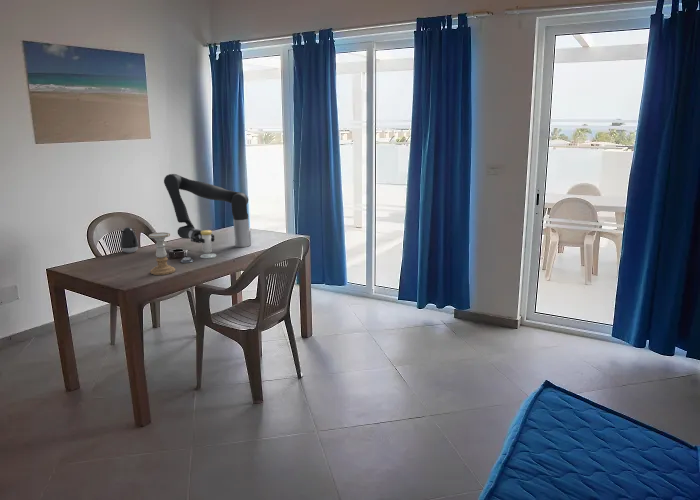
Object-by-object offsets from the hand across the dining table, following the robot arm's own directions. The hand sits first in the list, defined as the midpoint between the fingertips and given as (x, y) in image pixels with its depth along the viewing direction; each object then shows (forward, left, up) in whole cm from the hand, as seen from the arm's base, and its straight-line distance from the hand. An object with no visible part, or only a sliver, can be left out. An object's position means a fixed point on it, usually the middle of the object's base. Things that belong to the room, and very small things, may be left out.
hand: (208, 240), depth 305 cm
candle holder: (+32, +14, -10) cm, 36 cm away
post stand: (+14, +1, -10) cm, 17 cm away
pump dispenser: (+32, -44, -10) cm, 56 cm away
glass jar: (0, -3, -7) cm, 7 cm away
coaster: (0, -2, -10) cm, 10 cm away
